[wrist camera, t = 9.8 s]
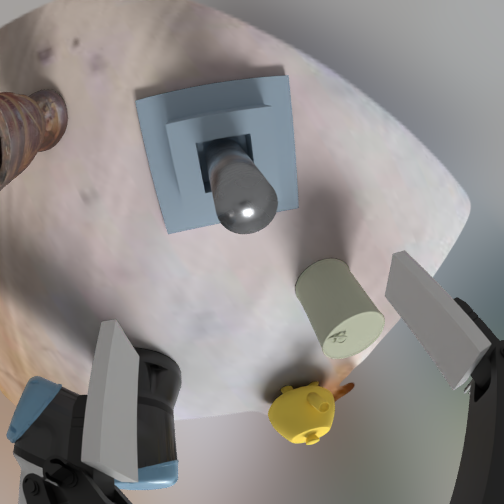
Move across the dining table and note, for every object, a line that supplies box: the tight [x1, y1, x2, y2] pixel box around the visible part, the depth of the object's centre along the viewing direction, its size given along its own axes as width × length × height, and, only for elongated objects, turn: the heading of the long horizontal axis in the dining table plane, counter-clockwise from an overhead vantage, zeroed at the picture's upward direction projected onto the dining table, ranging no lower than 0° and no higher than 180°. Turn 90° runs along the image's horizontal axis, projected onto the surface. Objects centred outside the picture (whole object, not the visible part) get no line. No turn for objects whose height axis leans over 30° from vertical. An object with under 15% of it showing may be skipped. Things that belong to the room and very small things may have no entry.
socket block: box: [135, 75, 299, 234], centre depth 29 cm, size 16×16×4 cm
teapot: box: [268, 382, 335, 445], centre depth 56 cm, size 20×16×14 cm
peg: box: [205, 137, 278, 234], centre depth 24 cm, size 4×4×14 cm
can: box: [295, 258, 385, 359], centre depth 39 cm, size 9×9×12 cm
